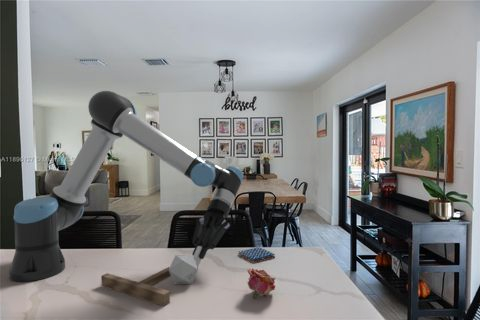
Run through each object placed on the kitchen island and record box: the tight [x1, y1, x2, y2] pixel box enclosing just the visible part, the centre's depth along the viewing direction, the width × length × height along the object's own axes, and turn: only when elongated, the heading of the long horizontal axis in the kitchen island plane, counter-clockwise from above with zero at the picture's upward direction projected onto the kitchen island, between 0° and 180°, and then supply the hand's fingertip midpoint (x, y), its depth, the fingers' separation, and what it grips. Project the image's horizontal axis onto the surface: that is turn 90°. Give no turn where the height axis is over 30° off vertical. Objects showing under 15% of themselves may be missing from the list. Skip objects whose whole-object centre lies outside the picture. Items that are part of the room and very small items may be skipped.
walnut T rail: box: [101, 266, 171, 307], centre depth 90 cm, size 24×16×3 cm, turn 61°
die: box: [169, 254, 199, 285], centre depth 91 cm, size 8×9×10 cm
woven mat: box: [237, 246, 276, 264], centre depth 112 cm, size 10×11×2 cm
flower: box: [246, 267, 276, 299], centre depth 82 cm, size 9×9×7 cm
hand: (193, 267), depth 95 cm, fingers closed
